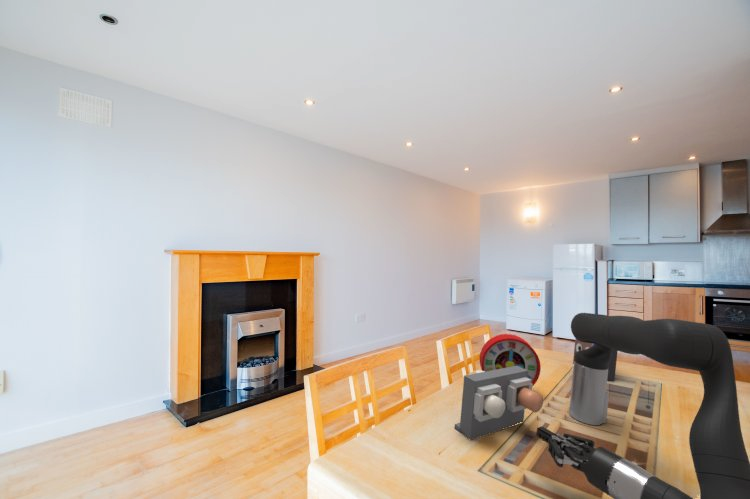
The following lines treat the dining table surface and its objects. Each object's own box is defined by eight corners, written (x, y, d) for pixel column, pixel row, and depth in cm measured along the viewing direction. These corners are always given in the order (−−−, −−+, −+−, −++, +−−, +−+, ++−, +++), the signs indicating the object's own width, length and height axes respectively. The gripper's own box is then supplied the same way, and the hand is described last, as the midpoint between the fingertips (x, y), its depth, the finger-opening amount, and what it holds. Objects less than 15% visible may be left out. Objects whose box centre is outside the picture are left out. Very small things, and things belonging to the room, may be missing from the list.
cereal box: (572, 365, 158) (577, 313, 157) (581, 365, 159) (586, 314, 158) (604, 381, 141) (610, 323, 140) (614, 381, 142) (620, 324, 141)
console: (506, 413, 108) (511, 363, 107) (529, 426, 101) (534, 373, 101) (454, 428, 97) (459, 372, 97) (475, 444, 90) (480, 384, 90)
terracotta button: (516, 406, 97) (518, 389, 97) (528, 403, 100) (529, 386, 99) (530, 414, 93) (532, 396, 93) (542, 410, 96) (543, 393, 96)
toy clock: (479, 389, 124) (483, 335, 123) (477, 382, 130) (481, 330, 129) (537, 398, 121) (543, 342, 120) (533, 391, 126) (538, 337, 126)
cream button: (478, 411, 92) (479, 393, 92) (491, 408, 95) (492, 390, 95) (491, 419, 89) (493, 401, 88) (504, 416, 91) (506, 397, 91)
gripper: (639, 451, 68) (557, 409, 83) (604, 469, 62) (521, 420, 77) (635, 487, 69) (554, 439, 84) (600, 509, 62) (518, 453, 77)
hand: (538, 430), depth 80 cm, fingers closed
